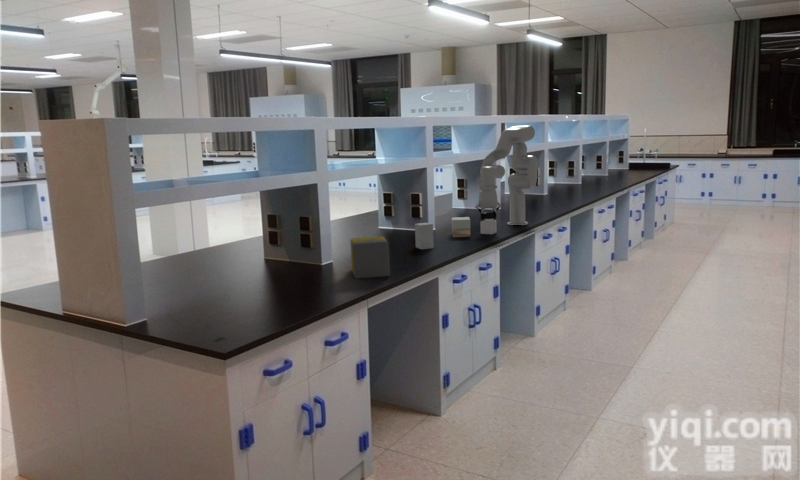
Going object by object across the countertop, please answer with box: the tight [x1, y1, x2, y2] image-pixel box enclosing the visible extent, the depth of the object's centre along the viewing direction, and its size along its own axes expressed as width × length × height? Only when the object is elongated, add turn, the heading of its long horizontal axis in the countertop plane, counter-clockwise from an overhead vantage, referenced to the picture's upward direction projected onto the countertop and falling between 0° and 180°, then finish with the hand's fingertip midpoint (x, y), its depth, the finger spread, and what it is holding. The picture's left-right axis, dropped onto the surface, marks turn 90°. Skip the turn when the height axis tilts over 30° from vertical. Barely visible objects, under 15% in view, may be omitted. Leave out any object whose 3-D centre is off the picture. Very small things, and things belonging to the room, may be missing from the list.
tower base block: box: [451, 227, 471, 238], centre depth 349 cm, size 10×10×5 cm
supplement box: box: [414, 222, 435, 250], centre depth 316 cm, size 7×7×13 cm
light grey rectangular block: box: [480, 211, 498, 235], centre depth 351 cm, size 7×7×12 cm
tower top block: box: [451, 216, 472, 229], centre depth 348 cm, size 10×10×5 cm
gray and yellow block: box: [350, 235, 391, 280], centre depth 268 cm, size 15×24×15 cm, turn 9°
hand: (488, 219), depth 351 cm, fingers closed on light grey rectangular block, 6 cm apart
